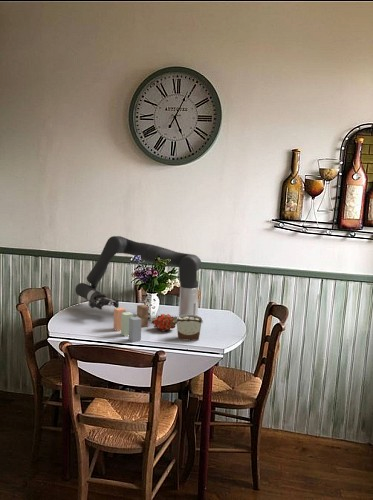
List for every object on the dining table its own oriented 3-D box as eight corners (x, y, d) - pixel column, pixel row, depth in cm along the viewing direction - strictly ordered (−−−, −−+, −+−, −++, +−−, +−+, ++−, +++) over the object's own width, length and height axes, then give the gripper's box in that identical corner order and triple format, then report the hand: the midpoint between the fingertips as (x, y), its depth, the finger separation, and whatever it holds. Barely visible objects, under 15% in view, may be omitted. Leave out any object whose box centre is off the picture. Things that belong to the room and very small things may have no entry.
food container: (201, 335, 214) (202, 314, 212) (202, 340, 208) (203, 318, 206) (174, 334, 213) (175, 313, 212) (174, 339, 207) (175, 317, 206)
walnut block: (143, 324, 226) (144, 304, 225) (147, 326, 223) (148, 306, 221) (136, 325, 224) (137, 305, 223) (140, 327, 221) (141, 307, 219)
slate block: (136, 338, 207) (137, 316, 205) (140, 340, 203) (141, 318, 202) (128, 339, 204) (129, 317, 203) (132, 342, 201) (133, 320, 200)
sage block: (128, 332, 213) (129, 311, 212) (132, 335, 210) (133, 314, 208) (120, 334, 211) (121, 312, 209) (124, 336, 208) (125, 315, 206)
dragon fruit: (178, 334, 218) (152, 336, 219) (177, 320, 224) (153, 322, 225) (175, 324, 212) (149, 326, 213) (175, 309, 218) (150, 311, 219)
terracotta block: (121, 327, 220) (121, 307, 218) (125, 330, 216) (125, 309, 215) (113, 328, 218) (114, 308, 216) (117, 331, 214) (117, 310, 213)
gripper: (83, 292, 234) (95, 300, 221) (109, 290, 242) (123, 297, 228) (83, 306, 235) (95, 315, 222) (109, 304, 243) (122, 312, 230)
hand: (109, 306), depth 225 cm, fingers open, 8 cm apart
